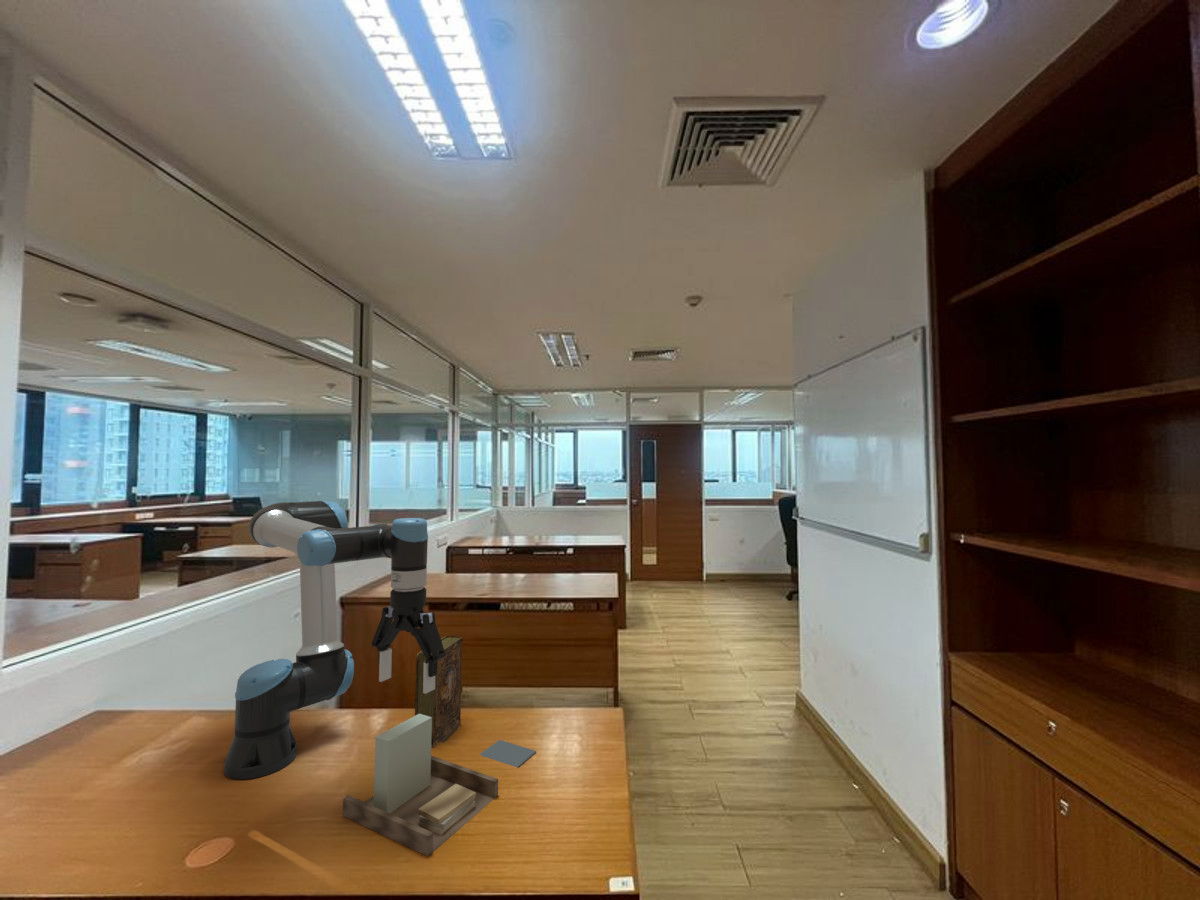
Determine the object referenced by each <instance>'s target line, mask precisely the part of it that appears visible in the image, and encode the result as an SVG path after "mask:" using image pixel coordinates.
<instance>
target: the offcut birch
mask: <svg viewBox="0 0 1200 900" xmlns="http://www.w3.org/2000/svg"><path fill="white" fill-rule="evenodd" d="M473 807H475V801H473V802H472V803H471V804H470V805H469V806H468V807H466V808H465V809H464V810H463V811H462V812H461V813H460V814H459V815H458V816H457V817H456V818H455V819H454V820H453V821H452V822H451V823H450V824H449V825H448V826H447V827H446V828H445V829H444V830H442V829H440V828H437V827H434V826H431V825H428V824H425V823H422V822H418V825H419V826H421V827H423V828H425V829H428V830H430V831H432V832H434V833H437V834H439V835H441V834H443V833H444V832H445V831H446V830H447V829H449V828H450V827H451V826H452V825H453V824H454V823H456V822H457V821H458V820H459V819H460V818H462V817H463V816H464V815H465V814H466V813H467V812H469V811H470V810H471V809H472V808H473Z"/></svg>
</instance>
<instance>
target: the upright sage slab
mask: <svg viewBox="0 0 1200 900" xmlns="http://www.w3.org/2000/svg"><path fill="white" fill-rule="evenodd" d="M431 735H432V717H429V716H426V715H422V714H418V715H416V716H415V715H414V716H411V718H409V719H406V720H405V721H402V722H401V723H399V724H397V725H394V726H393V727H392V728H389V729H388V730H385V731H383V732H381V733H380V734H378V735H376V736H375V739H374V740H375V741H374V745H375V747H374V772H373V773H374V776H373V778H374V780H373V796H374V807H377V808H379V809H381V810H383V811H386V812H388V813H391V812H393V811H394V810H396V809H397V808H398V807H400V806H401V805H403V804H404V803H405V802H407V801H408V800H410V799H411V798H413V797H414V796H415V795H417V794H418V793H420V792H421V791H422V790H424V789H425V788H427V787H428V786H429V785H430V777H431V756H432V745H431Z"/></svg>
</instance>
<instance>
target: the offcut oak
mask: <svg viewBox="0 0 1200 900" xmlns="http://www.w3.org/2000/svg"><path fill="white" fill-rule="evenodd" d="M474 798H476V792H473V791H471V790H469V789H467V788H465V787H462V786H460V785H458V784H455V785H453V786H452V787H450V788H449V789H447V790H446V791H444V792H443V793H441V794H440V795H438V796H437V797H435V798H434V799H432V800H431V801H429V802H428V803H426V804H425V805H423V806H422V807H420V808H419V809H418V814H419V815H421V816H423V817H425V818H427V819H429V820H431V821H433V822H435V823H436V824H438V825H439V824H440V823H442V822H443V821H444V820H446V819H447V818H449V817H450V816H451V815H453V814H454V813H455V812H457V811H458V810H459V809H461V808H462V807H464V806H465V805H466V804H468V803H469V802H470V801H472V800H473V799H474Z"/></svg>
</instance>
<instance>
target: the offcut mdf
mask: <svg viewBox="0 0 1200 900" xmlns="http://www.w3.org/2000/svg"><path fill="white" fill-rule="evenodd" d="M473 801H474V799H473V800H472V801H470V802H469V803H468V804H466V805H465V806H464V807H462V808H461V809H459V810H458V811H457V812H455V813H454V814H453V815H451V816H450V817H449V818H447V819H446V820H444V821H443V822H442V823H440V824H439V825H438V824H436V823H435V822H433V821H431V820H429V819H427V818H425V817H423V816H419V822H422V823H425V824H428V825H431V826H434V827H437V828H440V829H442V830H444V829H445V828H446V827H447V826H448V825H449V824H450V823H451V822H452V821H453V820H454V819H455V818H456V817H457V816H458V815H459V814H460V813H461V812H462V811H463V810H464V809H465V808H466V807H468V806H469V805H470V804H471V803H472V802H473Z"/></svg>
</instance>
